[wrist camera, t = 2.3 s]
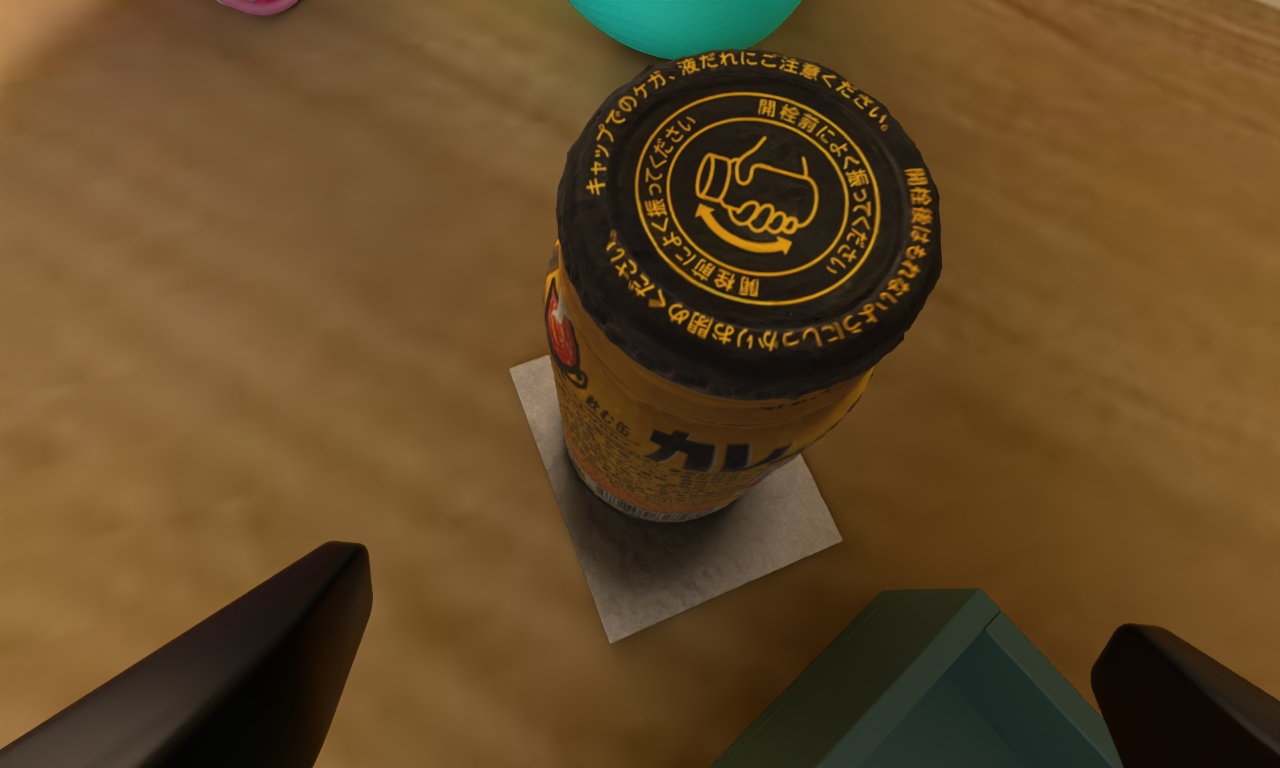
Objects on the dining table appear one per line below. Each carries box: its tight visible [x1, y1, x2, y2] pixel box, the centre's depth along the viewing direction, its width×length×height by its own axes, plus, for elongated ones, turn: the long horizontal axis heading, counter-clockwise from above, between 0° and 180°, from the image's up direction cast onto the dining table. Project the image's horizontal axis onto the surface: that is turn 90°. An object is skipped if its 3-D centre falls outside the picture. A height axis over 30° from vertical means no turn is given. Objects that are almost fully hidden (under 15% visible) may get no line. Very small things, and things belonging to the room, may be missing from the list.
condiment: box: [509, 49, 942, 644], centre depth 14 cm, size 7×8×12 cm
